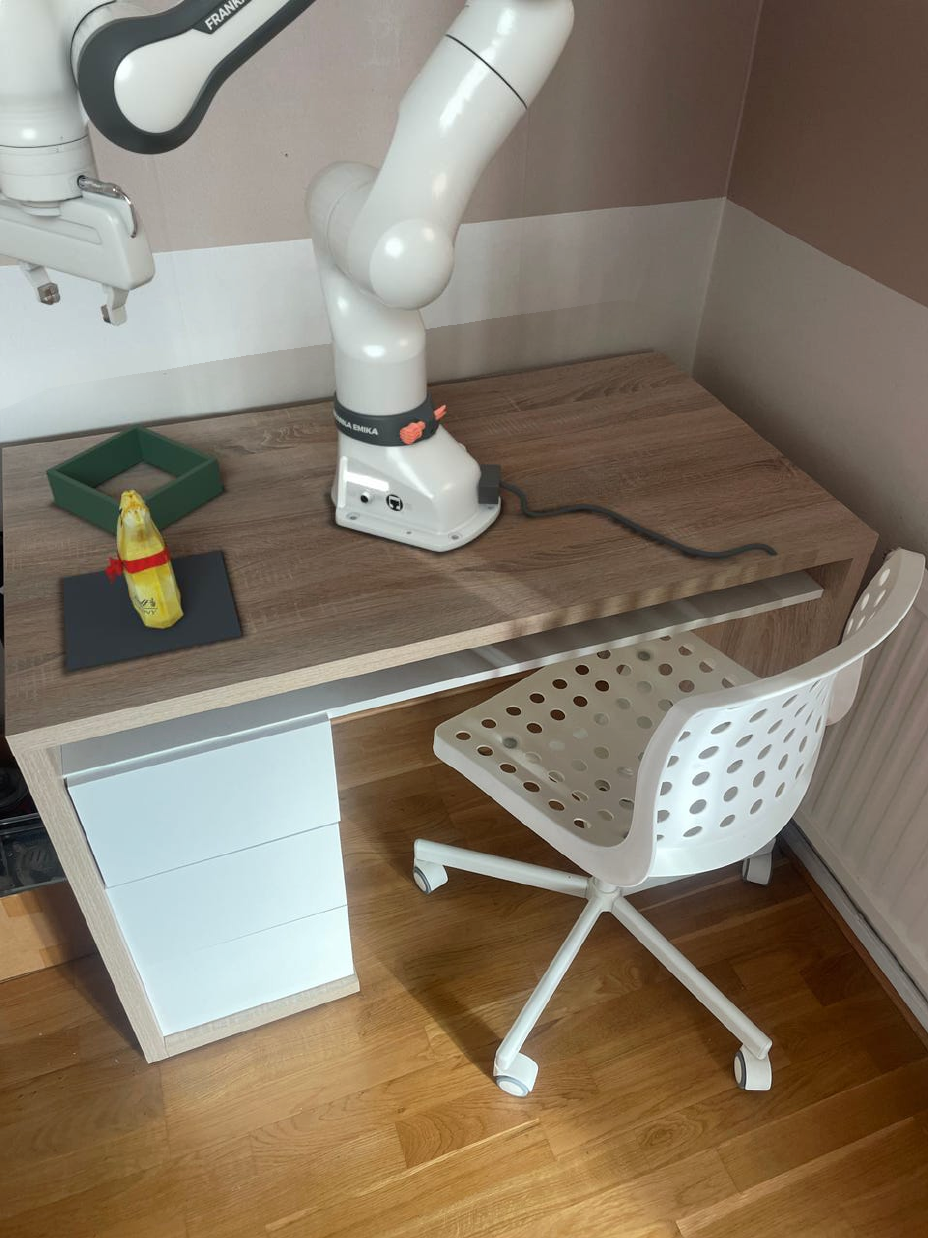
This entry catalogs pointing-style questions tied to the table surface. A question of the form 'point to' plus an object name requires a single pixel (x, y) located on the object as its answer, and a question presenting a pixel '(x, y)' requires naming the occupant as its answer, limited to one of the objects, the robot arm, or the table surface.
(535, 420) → the table surface
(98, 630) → the mat
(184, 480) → the crate
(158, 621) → the chocolate bunny
